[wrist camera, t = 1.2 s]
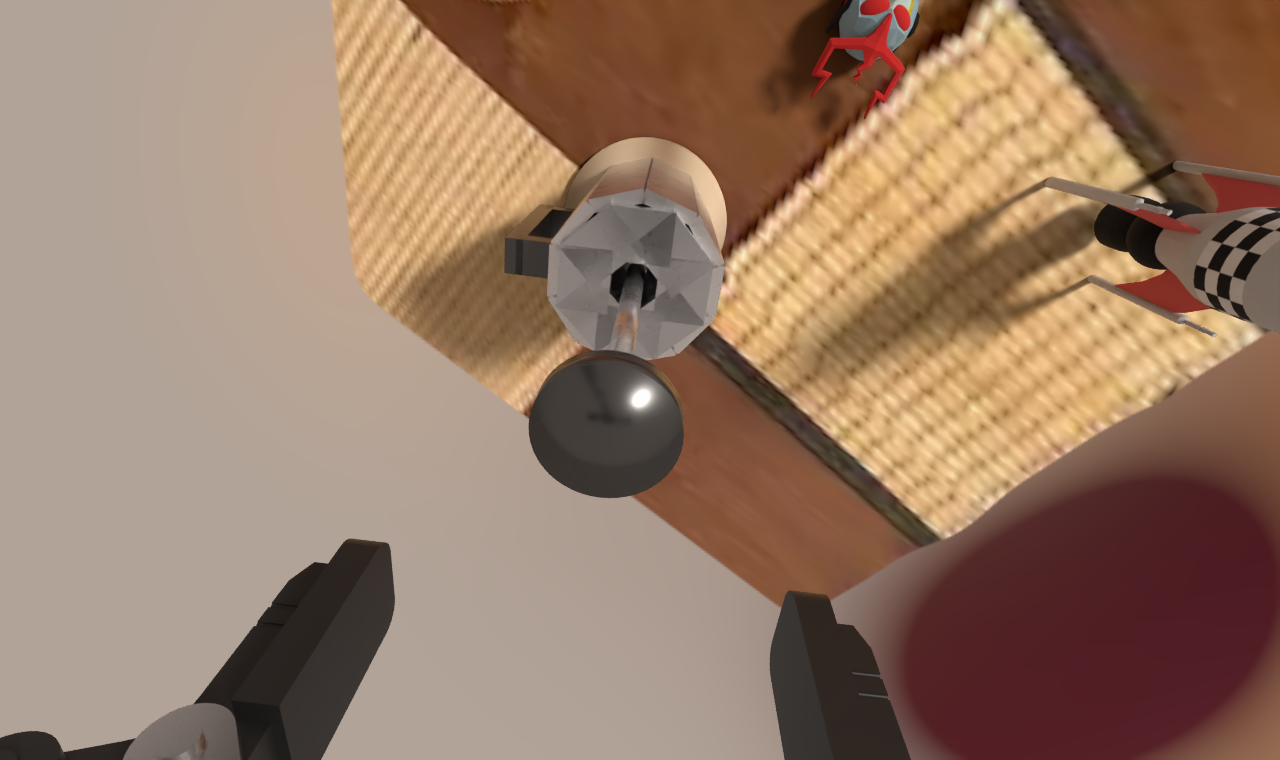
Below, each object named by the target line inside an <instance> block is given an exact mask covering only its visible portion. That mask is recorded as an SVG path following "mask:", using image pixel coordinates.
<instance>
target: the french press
mask: <svg viewBox="0 0 1280 760" xmlns="http://www.w3.org/2000/svg"><path fill="white" fill-rule="evenodd" d="M626 262H629V263H637V264H645V265H646V266H647V267H648V268H649V270H650V271H651V272H652V273H653V275H654V276H655V277H656V278H657V287H656V294H654V295H653V296H652V297H650V298H649V299H647V300H646V301H645V302H643V303H642V304H641V306H640V313H639V320H638V328H637V335H636V342H635V350H634V355H636V356H638V357H640V358H643V359H645V360H651V359H657V358H663V357H669V356H675V355H676V353H677V354H679V353H680V352H681V351H682V350H683V349H684V348H685V347H686V346H687V345H688V344H689V343H690V342H691V341H692V340H694V339H695V338H696V337H697V336H698V335H699V334H700V333H701V332H702V331H703V330H704V329H705V328H706V327H707V326H708V325H709V324H710V323H711V322H712V321H713V320H714V317H716V312H717V307H718V301H719V295H720V290H721V284H722V279H723V273H724V267H725V266H724V261H723V258H722V254H721V251H720V247H719V244H718V241H717V237H716V234H715V231H714V227H713V224H712V221H711V217H710V214H709V211H708V209H707V207H706V205H705V203H704V201H703V199H702V197H701V195H700V193H699V191H698V189H697V187H696V185H695V183H694V181H693V179H692V177H691V176H690V175H689V174H687V173H685V172H683V171H681V170H679V169H677V168H675V167H673V166H671V165H669V164H667V163H665V162H663V161H661V160H658V159H656V158H653V160H652V157H649V158H644V159H639V160H634V161H630V162H625V163H620V164H615V165H612V166H611V167H610V168H609V169H608V170H607V171H606V172H605V174H604V175H603V176H602V177H601V178H600V179H599V181H598V182H597V183H596V184H595V185H594V187H593V188H592V189H591V190H590V191H589V192H588V194H587V195H586V196H585V197H584V199H583V200H582V201H581V202H580V204H579V205H578V206H577V208H576V209H570V208H562V207H554V206H546V205H540V206H538V207H537V208H536V209H535V210H534V211H533V212H532V213H531V214H530V215H529V216H528V217H527V218H525V219H524V220H523V221H522V222H521V223H520V224H519V225H518V226H517V227H516V228H515V229H514V230H513V231H511V232H510V233H509V234H508V235H507V236H506V237H505V273H510V274H518V275H526V276H534V277H542V278H548V284H547V296H548V300H549V302H550V304H551V305H552V307H553V308H554V310H555V311H556V313H557V314H558V316H559V317H560V319H561V320H562V322H563V324H564V325H565V327H566V328H567V330H568V331H569V333H570V334H571V336H572V337H573V339H574V341H577V340H578V344H580V345H582V346H585V347H587V348H589V349H592V350H594V351H596V350H608V349H609V345H610V341H611V337H612V332H613V328H614V324H615V320H616V315H617V311H618V307H619V303H620V298H619V297H618V296H617V295H616V294H615V292H614V291H613V290H612V289H611V279H612V273H613V272H614V271H616V270H617V269H618V268H619V267H621V266H622V265H623V264H625V263H626Z"/></svg>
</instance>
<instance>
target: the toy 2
mask: <svg viewBox="0 0 1280 760" xmlns="http://www.w3.org/2000/svg"><path fill="white" fill-rule="evenodd" d="M1173 168H1174V169H1175V170H1177V171H1182V172H1188V173H1194V174H1200V175H1203V176H1204V178H1205V179H1206V180H1207V182H1208V183H1209V185H1210V186H1211V187H1212V189H1213V190H1214V191H1215V193H1216V196H1217V199H1218V202H1219V205H1218V208H1217V210H1216V213H1208V214H1207V213H1206V212H1205V211H1204V210H1202V209H1201V208H1199V207H1198V206H1195V205H1192V204H1190V203H1185V202H1167V203H1162V204H1160V203H1159V202H1157V201H1154V200H1151V199H1149V198H1145V197H1140V196H1136V195H1125V194H1121V193H1117V192H1113V191H1109V190H1105V189H1101V188H1097V187H1093V186H1088V185H1084V184H1080V183H1076V182H1072V181H1068V180H1064V179H1060V178H1056V177H1050V178H1049V179H1047V181H1046V182H1045V186H1046V187H1049V188H1052V189H1056V190H1060V191H1063V192H1067V193H1071V194H1074V195H1078V196H1082V197H1085V198H1089V199H1092V200H1096V201H1100V202H1103V203H1107V205H1106V206H1105V207H1104V208H1103V209H1102V210H1101V212H1100V213H1099V215H1098V217H1097V219H1096V221H1095V226H1094V232H1095V236H1096V238H1097V240H1098V241H1099V242H1100V243H1101V244H1103V245H1105V246H1108V247H1110V248H1113V249H1116V250H1119V251H1123V252H1129V253H1130V255H1131V256H1132V257H1133V258H1134V260H1135V261H1137V262H1138V263H1140V264H1142V265H1143V266H1146V267H1149V268H1152V269H1159V270H1166V271H1165V272H1164V273H1163V274H1161V275H1158V276H1156V277H1153V278H1150V279H1148V280H1145V281H1142V282H1134V283H1127V284H1119V285H1116V284H1114V283H1112V282H1109V281H1107V280H1105V279H1103V278H1100V277H1098V276H1096V275H1092V276H1089V277H1088V278H1087V281H1089V282H1091V283H1093V284H1095V285H1097V286H1099V287H1102V288H1104V289H1106V290H1108V291H1110V292H1112V293H1114V294H1116V295H1118V296H1121V297H1123V298H1125V299H1127V300H1129V301H1131V302H1133V303H1135V304H1137V305H1140V306H1142V307H1144V308H1146V309H1148V310H1150V311H1152V312H1154V313H1156V314H1159V315H1161V316H1163V317H1165V318H1167V319H1169V320H1171V321H1173V322H1175V323H1178V324H1186V325H1189V326H1191V327H1193V328H1195V329H1198V330H1199V331H1201V332H1203V333H1206V334H1208V335H1210V336H1212V337H1216V336H1217V335H1218V334H1216V333H1214V332H1212V331H1210V330H1209V329H1207V328H1204V327H1201V326H1200V325H1197V324H1195V323H1193V322H1191V321H1189V317H1187V316H1185V315H1182V314H1180V313H1187V312H1193V311H1199V310H1206V309H1214V310H1217V311H1220V312H1222V313H1225V314H1228V315H1231V316H1233V317H1236V318H1239V319H1241V320H1244V321H1247V322H1249V323H1252V324H1255V325H1257V326H1260V327H1263V328H1266V329H1269V330H1272V331H1275V332H1278V333H1280V176H1273V175H1267V174H1260V173H1253V172H1247V171H1240V170H1234V169H1227V168H1221V167H1214V166H1208V165H1201V164H1194V163H1188V162H1181V161H1175V162H1174V163H1173Z"/></svg>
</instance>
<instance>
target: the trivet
mask: <svg viewBox="0 0 1280 760" xmlns="http://www.w3.org/2000/svg"><path fill="white" fill-rule="evenodd" d="M649 157H652V160H653V158H656V159H658V160H661V161H663V162H665V163H667V164H669V165H671V166H673V167H675V168H677V169H679V170H681V171H683V172H685V173H687V174H689V175H690V176H691V177H692V179H693V181H694V183H695V185H696V187H697V189H698V191H699V193H700V195H701V197H702V199H703V201H704V203H705V205H706V207H707V209H708V211H709V214H710V217H711V221H712V224H713V227H714V231H715V234H716V237H717V241H718V244H719V247H720V251H721V249H722V246H723V243H724V239H725V234H726V225H727V219H726V208H725V202H724V198H723V195H722V192H721V189H720V187H719V185H718V183H717V180H716V179H715V177H714V176H713V174H712V172H711V171H710V170H709V168H708V167H707V166H706V165H705V163H704V162H703V161H702V160H701V159H699V158H698V157H697V156H696V155H695V154H694V153H692V152H691V151H689V150H688V149H687V148H685V147H683V146H681V145H679V144H677V143H674V142H671V141H668V140H665V139H660V138H655V137H637V138H630V139H625V140H621V141H619V142H616V143H614V144H611V145H609V146H608V147H606V148H604V149H602V150H601V151H599V152H598V153H597V154H595V155H594V156H593V157H592V158H591V159H590V160H589V161H588V162H587V163H586V164H585V165H584V166H583V167H582V169H581V170H580V171H579V172H578V174H577V175H576V177H575V179H574V181H573V182H572V185H571V187H570V190H569V192H568V195H567V199H566V203H565V208H570V209H576V208H577V206H578V205H579V204H580V202H581V201H582V200H583V199H584V197H585V196H586V195H587V194H588V192H589V191H590V190H591V189H592V188H593V187H594V185H595V184H596V183H597V182H598V181H599V179H600V178H601V177H602V176H603V175H604V174H605V172H606V171H607V170H608V169H609V168H610V167H611V166H612V165H615V164H620V163H625V162H630V161H634V160H639V159H644V158H649Z"/></svg>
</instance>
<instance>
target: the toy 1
mask: <svg viewBox="0 0 1280 760" xmlns="http://www.w3.org/2000/svg"><path fill="white" fill-rule="evenodd" d="M918 7H919V0H843V2H842V5H841V7H840V8H839V10H838V12H837V13H836V15H835V17H834V18H833V20H832V22H831V24H830V25H829V27H828V29H827V31H826V32H827V33H829V32H830V30H831V29H832V28H833V27H834V26H835V24H836V23H837V22H838V21H839V20H840V21H839V30H840V38H830V40H829V41H828V43H827V45H826V47H825V49H824V51H823V53H822V55H821V56H820V58H819V60H818V62H817V64H816V66H815V68H814V70H813V71H812V73H811V76H816V77H821V80H820V81H819V83H818V84H817V86H816V88H815V89H814V91H813V93H812V94H811V96H810V99H811V98H812V97H813V95H814V94H815V93H816V92H817V91H818V90H819V89H820V87H821V86H822V85H823V84H824V83H825V82H826V81H827V79H828V78H829V77H830V76H831V75H832V73H831V72H827V71H824V70H822V69H823V67H824V65H825V64H826V62H827V60H828V58H829V57H830V55H831V53H832V51H833V50H834V48H837V49H845V50H846V52H847V53H849V54H850V55H851V56H853V57H854V58H856V59H858V60H861V61H864V62H863V63H862V64H860V65H859V66H857V67H856V68H857V71H858V74H857V75H856V76H854V77H853V79H854V81H855V83H856V79H859V78H861V77H862V73H861V70H864V69H867V68H870V67H872V64H873V62H874V61H875V60H878V59H881V58H882V59H883V60H884V61H885V62H886V63H887V64H888V65H889V66H890V67H891V68H892V69H893V70H894V71H895V73H894V75H893V77H892V79H891V81H890V82H889V84H888V86H887V88H886V90H885V92H884V93H881V92H879V91H877V90H874V93H873V95H872V98H871V100H870V103H869V105H868V108H867V110H866V113H865V115H864V119H865V118H866V116H867V115H868V113H869V111H870V110H871V108H872V106H873V105H874V103H875V102H876V100H877V99H878V100H880V101H881V102H883V103H885V101H886V100H887V98H888V96H889V95H890V93H891V91H892V90H893V88H894V86H895V85H896V83H897V81H898V80H899V78H900V76H901V75H902V73H903V71H904V70H905V67H904V66H903V65H902V64H901V62H900V61H899V60H898V59H897V57H896V56H895V55H894V54H893V52H894V51H895V50H896V49H897V48H898V47H899V46H900V45H901V44H902V43H903V42H904V40H905V39H906V38H909V37H910V36H911V35H912V34H913V33H914V32H915V29H916V27H917V25H918V22H919V17H920V15H919V14H918V12H917V11H918ZM856 85H857V84H856Z"/></svg>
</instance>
